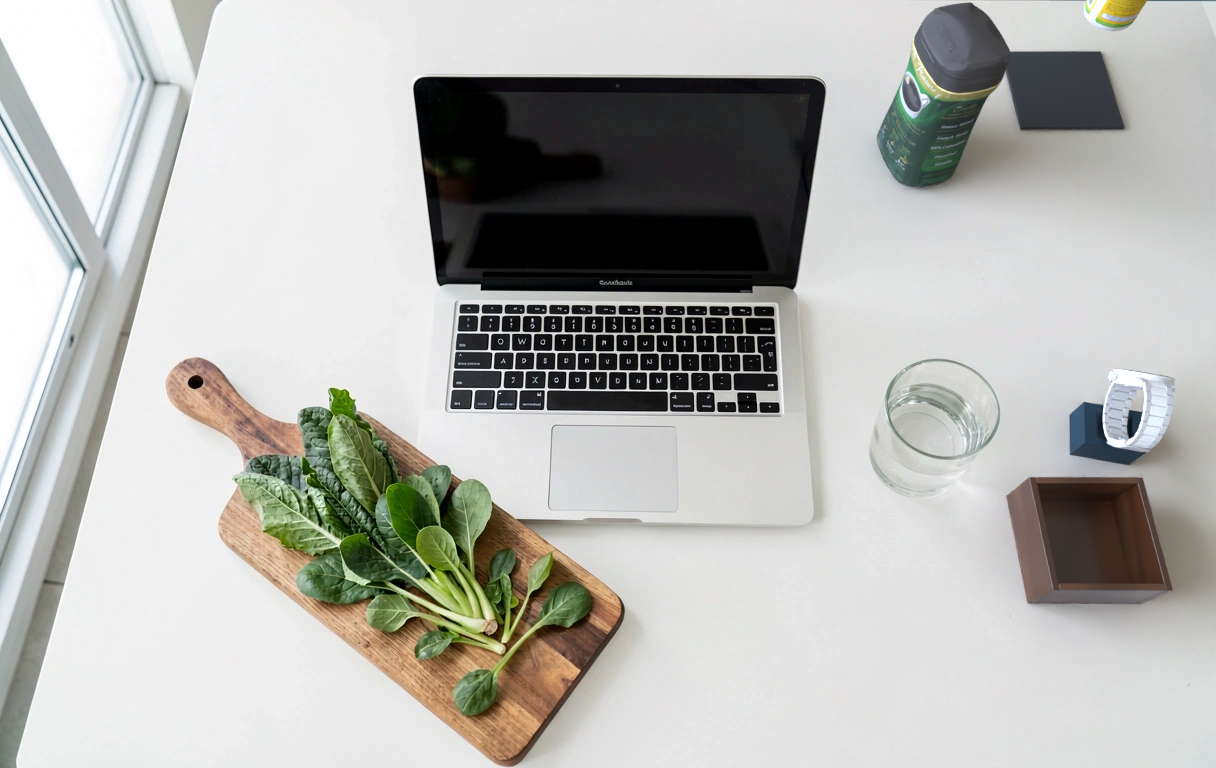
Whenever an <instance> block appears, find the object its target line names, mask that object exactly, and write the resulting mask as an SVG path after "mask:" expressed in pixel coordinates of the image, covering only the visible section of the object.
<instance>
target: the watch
mask: <svg viewBox="0 0 1216 768" xmlns="http://www.w3.org/2000/svg"><path fill="white" fill-rule="evenodd" d="M1108 380H1109V383H1111V384H1110V386H1109V388H1108V390H1107V394H1106V395H1105V399H1104V404H1099V403H1093V402H1088V401H1083V402H1082V403H1081V404H1080V405H1079V406H1078V407H1076V408H1075V409H1074V410H1073V411H1072V412H1071V413H1070V414H1069V416H1068V417H1069V419H1068V420H1069V421H1068V422H1069V456H1074V457H1075V456H1076V457H1081V458H1087V459H1092V460H1097V461H1102V462H1108V463H1114V464H1118V465H1124V466H1131V464H1133V463H1134V462H1136V461H1137V460H1139V459H1140V458H1142V457H1143V456H1144V455H1146V453H1147V452H1151V451H1152V449H1153V448H1155V447H1156V446H1157V445H1158V444H1159V443H1160V441H1161V440H1162V439H1163V437H1164V435H1165V433H1166V431H1167V429H1168V426H1169V425H1170V422H1171V418H1172V414H1173V410H1174V393H1176V385H1175V382H1176V378H1174V377H1171V376H1168V375H1164V374H1158V373H1154V372H1147V371H1140V370H1133V369H1126V368H1113V371H1109V373H1108ZM1138 390H1143V398H1144V399H1143V400H1144V401H1143V411H1138V410H1133V409H1130V408H1131V406H1132V403H1133V400H1134V397H1135V395H1136V394H1137V392H1138Z"/></svg>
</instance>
